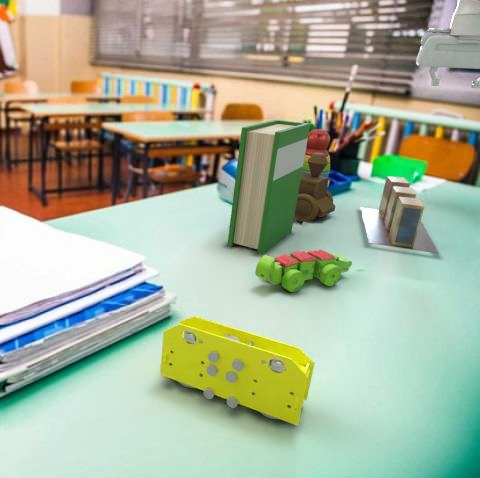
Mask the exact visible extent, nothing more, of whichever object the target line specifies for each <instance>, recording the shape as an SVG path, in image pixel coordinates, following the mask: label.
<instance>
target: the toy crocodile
mask: <svg viewBox="0 0 480 478" xmlns="http://www.w3.org/2000/svg"><path fill="white" fill-rule="evenodd" d="M352 265H353V261H352V260H350V259H348V258H345V257H343V256H341V255H338V254H335V253H331V252H329V251H327V250H326V249H314V250H309V251H307V252H306V251H304V250H301V251H293V252H290V254H289V255H288V254H287V253H283V254H281V255H280V256H276V257H272V256H270V255H268V254H263V255H262V257H261V258H260V259H259V261H258V262H257V264H256V266H255V272H254V273H255V276H257V277H258V278H259V279H262V280H264V281H266V282H268V283H270V284H272V285H278V284H281V286H282V287H283V289H285V290H286V291H288V292H290V293H296V292H297V291H300V290H301V289H302V287H303V285H304V283H305V281H307V280H312V279H313V278H314V277H315V278H317V279H319V281H320V282H321V284H323V285H325V286H327V287H333V286H335V285H336V284H337V283H338V282H339V280H340V279H341V276H342V273H347V272H348V271H349V269H350V267H352Z"/></svg>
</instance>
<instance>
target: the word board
mask: <svg viewBox="0 0 480 478" xmlns="http://www.w3.org/2000/svg"><path fill="white" fill-rule="evenodd" d="M360 212H361V215H362V221H363V224H364V228H365V233H366V237H367V241H368V242H367V243H368V244H373V245H374V244H375V245H381V246H387V247H393V248H400V249H407V250H413V251H421V252H427V253H432V254H433V253H434V254H439V251H438V249H437V247H436V246H435V244H434V242H433V240H432V238H431V237H430V235H429V233H428V232H427V230H426V228H425V226H424V225H423V223H422V220H421V221H420V225H419V229H418V232H417V236H416V240H415V243H414V247H413V248H412V247H405V246H398V245H392V243H391V240H390V237H389V233H390V230H387V229H386V226H385V223H384V221H385V217H383V216H382V215H381V213H380V212H379V209H376V208H369V207H360Z"/></svg>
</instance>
